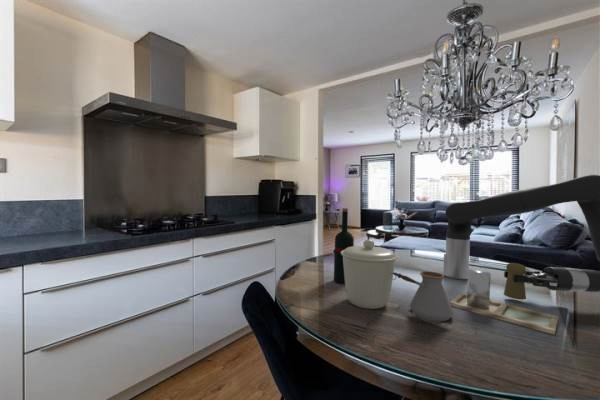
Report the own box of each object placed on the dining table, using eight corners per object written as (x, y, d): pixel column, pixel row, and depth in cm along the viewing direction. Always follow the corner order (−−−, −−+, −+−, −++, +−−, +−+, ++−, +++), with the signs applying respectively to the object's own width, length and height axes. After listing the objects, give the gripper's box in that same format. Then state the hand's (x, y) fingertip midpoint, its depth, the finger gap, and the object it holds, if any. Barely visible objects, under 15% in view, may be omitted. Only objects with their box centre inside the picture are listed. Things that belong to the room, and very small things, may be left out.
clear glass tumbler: (464, 305, 89) (465, 271, 88) (469, 300, 93) (471, 268, 92) (486, 311, 84) (487, 275, 84) (491, 306, 88) (492, 271, 88)
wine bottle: (344, 287, 107) (346, 209, 106) (329, 279, 116) (331, 207, 116) (360, 284, 111) (362, 209, 110) (345, 277, 120) (347, 207, 119)
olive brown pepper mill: (530, 300, 90) (532, 266, 90) (509, 298, 91) (510, 265, 91) (519, 293, 96) (521, 262, 96) (500, 292, 97) (501, 260, 97)
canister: (373, 290, 104) (375, 234, 103) (408, 310, 87) (410, 243, 86) (330, 296, 97) (331, 236, 97) (359, 318, 80) (361, 245, 80)
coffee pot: (427, 307, 90) (429, 261, 89) (462, 322, 79) (463, 270, 79) (375, 318, 81) (377, 267, 80) (406, 337, 70) (408, 278, 70)
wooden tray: (449, 308, 89) (449, 301, 89) (461, 299, 97) (461, 292, 97) (554, 339, 71) (554, 330, 71) (557, 324, 80) (558, 316, 80)
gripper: (548, 262, 99) (496, 260, 101) (585, 274, 85) (524, 271, 87) (547, 283, 99) (495, 280, 101) (583, 298, 85) (523, 295, 87)
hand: (509, 276), depth 94 cm, fingers closed on olive brown pepper mill, 4 cm apart
